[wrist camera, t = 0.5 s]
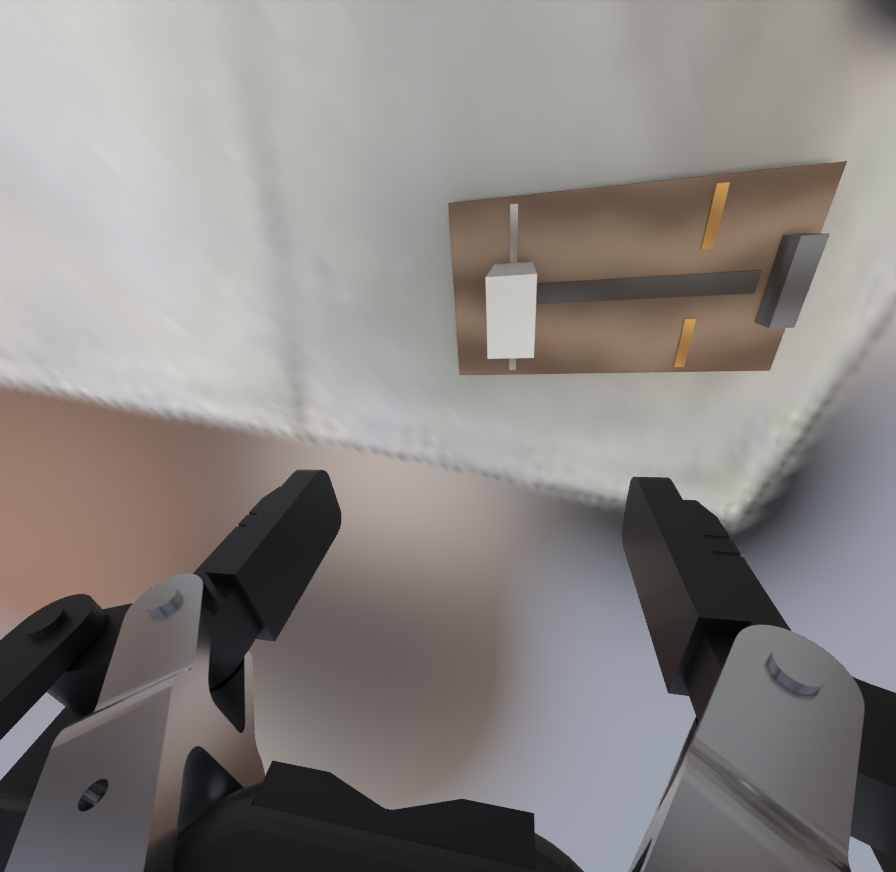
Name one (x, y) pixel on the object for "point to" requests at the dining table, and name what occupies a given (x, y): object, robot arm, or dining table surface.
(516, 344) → the slider tab
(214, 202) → the dining table surface
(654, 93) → the dining table surface
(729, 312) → the board
